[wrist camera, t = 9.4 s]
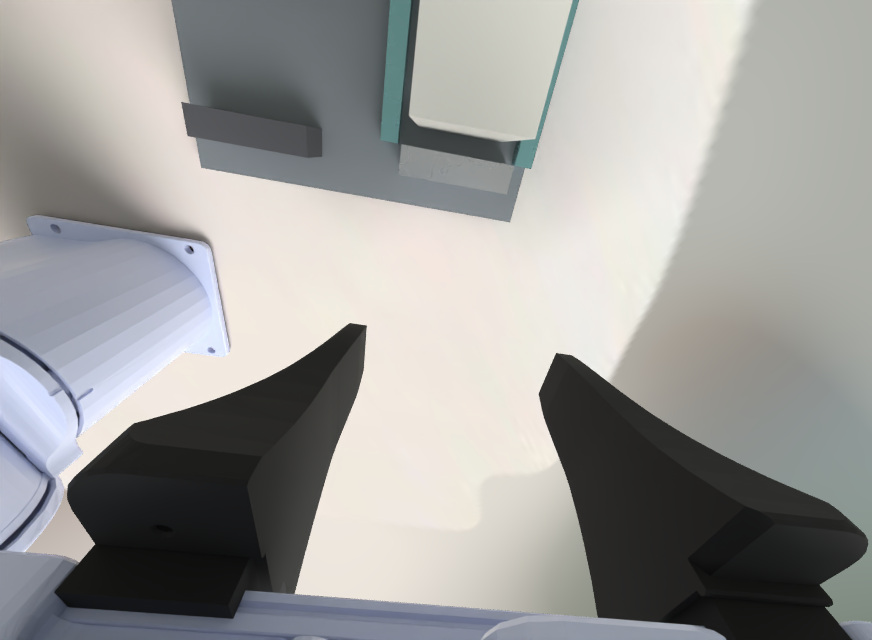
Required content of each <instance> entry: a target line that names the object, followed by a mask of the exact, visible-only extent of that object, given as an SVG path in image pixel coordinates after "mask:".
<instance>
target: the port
mask: <svg viewBox="0 0 872 640" xmlns="http://www.w3.org/2000/svg"><path fill="white" fill-rule="evenodd" d="M578 2H579V0H573V1H572V5H571V9H570V12H569V16H568V20H567V24H566V27H565V31H564V35H563V38H562V42H561V46H560V49H559V53H558V57H557V61H556V64H555V68H554V72H553V75H552V79H551V83H550V87H549V90H548V94H547V98H546V101H545V105H544V109H543V112H542V116H541V120H540V124H539V127H538V131H537V135H536V138H535V139H531V140H519V141H517V145H516V149H515V153H514V156H513V160H512V164H511V165H508V164H504V163H499V162H493V161H488V160H483V159H478V158H473V157H467V156H462V155H457V154H452V153H446V152H441V151H436V150H431V149H426V148H420V147H415V146H410V145H404V144H401V154H400V164H399V174H398V175H403V176H408V177H414V178H419V179H425V180H430V181H436V182H441V183H446V184H452V185H457V186H463V187H468V188H474V189H479V190H485V191H490V192H495V193H501V194H506V195H507V192H508V188H509V184H510V180H511V176H512V172H513V168H514V166H519V167H524V168H529V169H531V167H532V164H533V160H534V157H535V153H536V150H537V146H538V143H539V139H540V136H541V132H542V129H543V125H544V122H545V118H546V114H547V111H548V107H549V104H550V100H551V97H552V93H553V90H554V86H555V83H556V79H557V76H558V72H559V69H560V65H561V62H562V58H563V55H564V51H565V48H566V44H567V41H568V37H569V34H570V30H571V27H572V23H573V20H574V16H575V13H576V9H577V6H578ZM412 9H413V0H390V10H389V24H388V38H387V53H386V67H385V81H384V95H383V109H382V123H381V138H380V140H383V141H388V142H393V143H400V133H401V123H402V112H403V102H404V92H405V81H406V71H407V61H408V50H409V40H410V30H411V20H412ZM513 165H514V166H513Z"/></svg>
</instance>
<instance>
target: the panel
mask: <svg viewBox="0 0 872 640" xmlns="http://www.w3.org/2000/svg"><path fill="white" fill-rule="evenodd" d="M419 5H420V0H413V9H412V20H411V30H410V40H409V50H408V61H407V71H406V81H405V92H404V102H403V112H402V123H401V133H400V143H393V142H388V141H383V140H380V138H381V123H382V109H383V95H384V81H385V67H386V53H387V38H388V24H389V10H390V0H172V6H173V11H174V17H175V23H176V28H177V34H178V39H179V45H180V51H181V56H182V62H183V68H184V73H185V79H186V84H187V90H188V96H189V101H190V104H194V105H200V106H206V107H211V108H217V109H222V110H227V111H232V112H238V113H243V114H248V115H253V116H259V117H264V118H269V119H274V120H279V121H285V122H290V123H295V124H300V125H305V126H311V127H316V128H321V129H322V157H313V158H305V157H299V156H294V155H289V154H283V153H278V152H272V151H267V150H261V149H256V148H251V147H245V146H240V145H234V144H229V143H223V142H218V141H212V140H207V139H202V138H196V141H197V146H198V152H199V158H200V163H201V168H206V169H212V170H217V171H223V172H229V173H234V174H240V175H246V176H251V177H257V178H263V179H268V180H274V181H280V182H285V183H291V184H297V185H302V186H308V187H314V188H319V189H325V190H331V191H336V192H342V193H348V194H353V195H359V196H364V197H370V198H376V199H381V200H387V201H393V202H398V203H404V204H410V205H415V206H421V207H427V208H432V209H438V210H444V211H449V212H455V213H461V214H466V215H472V216H478V217H483V218H489V219H495V220H500V221H506V222H510V220H511V216H512V212H513V209H514V205H515V202H516V198H517V194H518V191H519V187H520V183H521V180H522V176H523V173H524V169H525V168H524V167H519V166H514V165H513V166H514V168H513V172H512V176H511V180H510V184H509V188H508V192H507V195H506V194H501V193H495V192H490V191H485V190H479V189H474V188H468V187H463V186H457V185H452V184H446V183H441V182H436V181H430V180H425V179H419V178H414V177H408V176H403V175H398V174H399V164H400V154H401V144H404V145H410V146H415V147H420V148H426V149H431V150H436V151H441V152H446V153H452V154H457V155H462V156H467V157H473V158H478V159H483V160H488V161H493V162H499V163H504V164H508V165H511V164H512V160H513V156H514V153H515V149H516V145H517V141H508V142H498V141H493V140H487V139H482V138H476V137H471V136H466V135H460V134H455V133H449V132H444V131H438V130H433V129H427V128H422V127H419V126H418V125H417V124H416V123H415V122H414V121H413V120H412V119H411V117H410V116H409V108H410V98H411V88H412V77H413V67H414V57H415V46H416V36H417V25H418V15H419Z"/></svg>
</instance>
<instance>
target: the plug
mask: <svg viewBox="0 0 872 640" xmlns="http://www.w3.org/2000/svg"><path fill="white" fill-rule="evenodd" d="M572 1H573V0H420V5H419V15H418V25H417V36H416V46H415V57H414V67H413V77H412V88H411V98H410V108H409V116H410V117H411V119H412V120H413V121H414V122H415V123H416V124H417V125H418V126H419V127H422V128H427V129H433V130H438V131H444V132H449V133H455V134H460V135H466V136H471V137H476V138H482V139H487V140H493V141H498V142H508V141H519V140H531V139H535V138H536V135H537V131H538V127H539V124H540V120H541V116H542V112H543V109H544V105H545V101H546V98H547V94H548V90H549V87H550V83H551V79H552V75H553V72H554V68H555V64H556V61H557V57H558V53H559V49H560V46H561V42H562V38H563V35H564V31H565V27H566V24H567V20H568V16H569V12H570V9H571V5H572Z"/></svg>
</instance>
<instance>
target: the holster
mask: <svg viewBox="0 0 872 640" xmlns="http://www.w3.org/2000/svg"><path fill="white" fill-rule="evenodd" d="M181 103H182V108H183V113H184V119H185V124H186V129H187V135H188V136H191V137H196V138H202V139H207V140H212V141H218V142H223V143H229V144H234V145H240V146H245V147H251V148H256V149H261V150H267V151H272V152H278V153H283V154H289V155H294V156H299V157H305V158H313V157H322V129H321V128H316V127H311V126H305V125H300V124H295V123H290V122H285V121H279V120H274V119H269V118H264V117H259V116H253V115H248V114H243V113H238V112H232V111H227V110H222V109H217V108H211V107H206V106H200V105H194V104H189V103H183V102H181Z"/></svg>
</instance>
